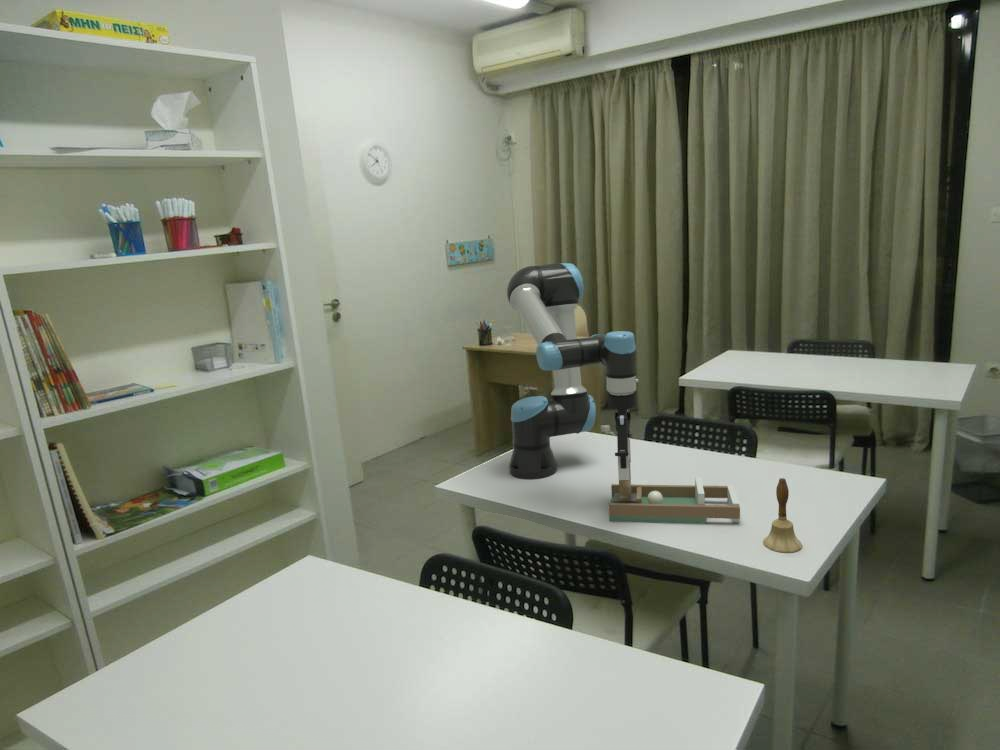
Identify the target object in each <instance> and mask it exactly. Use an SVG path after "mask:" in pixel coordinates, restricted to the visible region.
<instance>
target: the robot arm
mask: <svg viewBox="0 0 1000 750" xmlns="http://www.w3.org/2000/svg"><path fill="white" fill-rule="evenodd" d="M584 288H585V287H584V281H583V276H582V274H581V272H580V270H579V269H578V267H577V266H575V264H574V263H569V262H568V263H562V262H560V263H552V264H542V265H541V264H540V265H529V266H525V267H522V268H521V269H519V270H517V271H516V272H515V273H514V274H513V275H512V276H511V278H510V280H509V281H508V285H507V288H506V296H507V300H508V302H509V305H510V306H511V308H512V309H513V310H514V311H516V312H518V313H519V315H520V317H521V319H522V320H523V322H524V324H525V326H526V327H527V329H528V330H529V332H530V334H531V336H532V337H533V340H534V341H535V342H536V344H537V346H536V356H535V357H536V361H537V365H538V367H539V368H540V370H542V371H552V373H553V374H552V375H553V383H554V389H553V390H552V391H551V393H550V399H548V398H547V397H546V396H543V395H536V396H535V395H534V396H529V397H528V396H527V397H525V398H521V399H519V400H517V401H516V402H514V403H513V404H512V406H511V410H510V411H511V413H510V421H511V430H512V441H513V442H512V446H513V449H512V454H511V458H510V462H509V474H510V475H511V476H514V477H515V478H519V479H528V480H533V479H534V480H535V479H542V478H546V477H550V476H551V475H554V474H555V473H556V472H557V470H558V467H557V465H558V464H557V460H556V458H555V456H554V453H553V449H552V447H551V442H550V441H551V438H553V437H559V436H566V435H571V434H576V435H577V434H581V433H585V432H587V431H589V430H591V429H592V428H593V426H594V424H595V421H596V415H597V408H596V407H597V406H596V403H595V400H594V397H593V396H592V395H591V394H588V390H587V389H586V387H584V386H583V385H582V376H581V368H582V367H588V366H589V367H591V366H596V365H603V366H605V370H606V372H605V375H606V376H605V379H606V380H605V381H606V392H608V393H607V395H606V398H607V407H608V408H609V409H610V410H611V409H612V410H616V411H617V412H615V414H614V422H615V430H616V432H617V433H616V434H617V435H616V436H617V437H616V438H617V442H616V443H617V452H614V456H615V457H617V469H618V470H617V471H618V481H619V480H630V476H629V459H630V463H631V462H632V460H631V459H632V456H631V455H632V454H631V438H633V433H630V432H631V430H630V426H631V417H632V415H631V411H629V410H632V409H634V408H635V409H636V407H637V406H638V394H637V393H638V392H636V391H637V383H639V381H640V380H639V378H637V370H636V369H637V366H636V365H637V359H636V358H637V357H636V355H637V353H636V349H637V348H636V347H637V346H636V345H637V344H636V341H635V334H634V333H633V332H632V331H629V330H628V331H625V330H623V331H622V330H620V331H619V330H618V331H617V330H615V331H610V332H607V333H606V334H602V333H601V334H593V335H591V336H590V337H583V338H581V337H580V338H578V335H577V327H576V317H575V316H576V315H575V309H576V308H577V307H578V306H579V300H580V299H582V298H583V296H584Z"/></svg>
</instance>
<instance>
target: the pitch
mask: <svg viewBox="0 0 1000 750" xmlns="http://www.w3.org/2000/svg"><path fill="white" fill-rule="evenodd" d="M637 487H642V504H635V503H614V493H619V483H617V484H616V483H613V484H611V487H610V488H611V499H610V502H609V503H608V518H609V520H608V521H609V522H624V523H625V522H626V523H627V522H629V523H631V522H632V523H635V522H636V523H667V524H668V523H669V524H675V523H676V524H702V525H703V524H704V525H705V524H707V519H726V520H727V519H728V520H729V519H730V520H732V523H740V519H741V507H740V502H739V499H738V495H737V492H736V490H735V486H734V485H703V480H702V476H695V477H694V485H691V484H690V485H688V484H686V485H683V484H679V485H678V484H631V493H637ZM652 491H658V492H660V493H661V494H662V496H663V501H662V503H661V504H649V502H648V500H647V497H648V494H649V493H650V492H652ZM705 499H726V500H727V505H726V504H722V505H721V504H705V503H706V502H705Z"/></svg>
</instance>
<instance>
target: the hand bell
mask: <svg viewBox="0 0 1000 750" xmlns="http://www.w3.org/2000/svg"><path fill="white" fill-rule="evenodd" d="M775 491H776V501H777V503H778V518H777V519H773V520H772V521H771V522H772V523H771V528H770V532H769V534H768V535H767V536H766V537H765V538H763V541H762V543H763V546H764V547H766V548H767V549H769V550H771V551H774V552H778V553H786V554H787V553H790V554H791V553H796V552H799V551H801V550H802V548H803V543H802V541H800V540H799V539H798V537H797V536H796V533H795V529H794V524H793V522H792V521H790V520H788V519H787V503H788V500H789V492H790V491H789V486H788V484H787V480H786V478H785V477H783V478H782V477H781V478H779V480H778V483H777V486H776V489H775Z"/></svg>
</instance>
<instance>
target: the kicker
mask: <svg viewBox="0 0 1000 750" xmlns="http://www.w3.org/2000/svg"><path fill="white" fill-rule="evenodd" d="M631 470H632V469H631V462H630V459H629V476H630V480H619V479H618V484H619V493H614V503H635V504H642V487H637V493H631V485H632V474H631V473H632V472H631Z"/></svg>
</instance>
